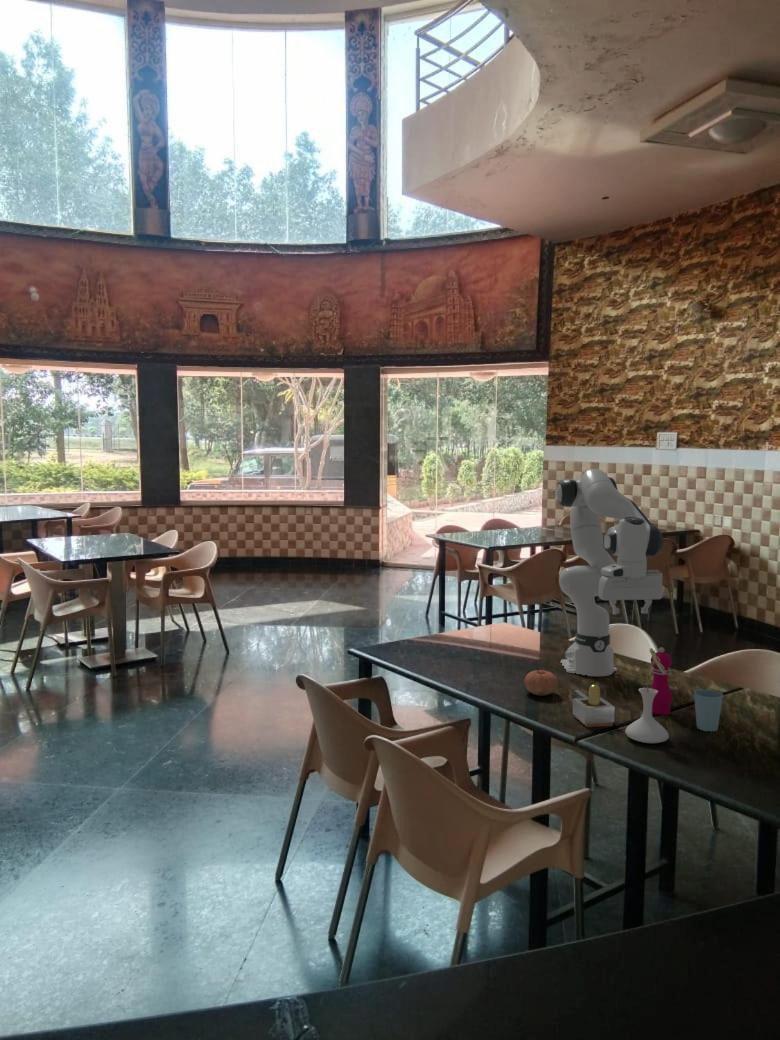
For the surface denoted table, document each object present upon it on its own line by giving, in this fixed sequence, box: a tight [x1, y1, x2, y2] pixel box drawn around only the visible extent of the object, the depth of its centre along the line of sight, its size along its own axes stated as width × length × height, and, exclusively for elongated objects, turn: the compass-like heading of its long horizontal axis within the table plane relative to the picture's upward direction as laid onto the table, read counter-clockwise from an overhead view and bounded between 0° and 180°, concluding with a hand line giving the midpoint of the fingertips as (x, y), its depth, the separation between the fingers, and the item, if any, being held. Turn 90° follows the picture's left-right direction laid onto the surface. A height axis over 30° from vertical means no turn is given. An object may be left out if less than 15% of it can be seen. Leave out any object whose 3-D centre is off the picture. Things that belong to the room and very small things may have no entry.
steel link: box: [572, 689, 616, 724], centre depth 227 cm, size 17×9×4 cm, turn 9°
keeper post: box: [574, 684, 614, 728], centre depth 222 cm, size 8×8×11 cm
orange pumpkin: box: [523, 669, 559, 697], centre depth 249 cm, size 11×11×8 cm
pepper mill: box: [649, 646, 673, 716], centre depth 232 cm, size 7×7×20 cm
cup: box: [693, 688, 724, 733], centre depth 217 cm, size 8×8×10 cm
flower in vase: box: [624, 647, 670, 744], centre depth 208 cm, size 13×11×25 cm
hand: (630, 613), depth 236 cm, fingers open, 8 cm apart
